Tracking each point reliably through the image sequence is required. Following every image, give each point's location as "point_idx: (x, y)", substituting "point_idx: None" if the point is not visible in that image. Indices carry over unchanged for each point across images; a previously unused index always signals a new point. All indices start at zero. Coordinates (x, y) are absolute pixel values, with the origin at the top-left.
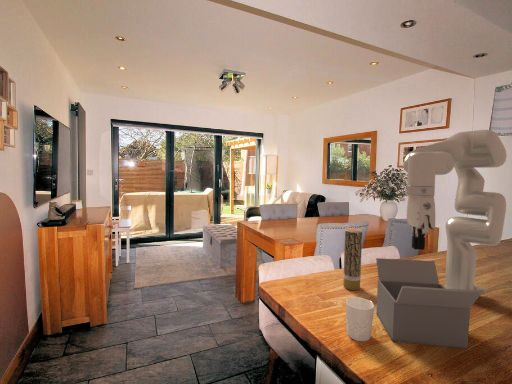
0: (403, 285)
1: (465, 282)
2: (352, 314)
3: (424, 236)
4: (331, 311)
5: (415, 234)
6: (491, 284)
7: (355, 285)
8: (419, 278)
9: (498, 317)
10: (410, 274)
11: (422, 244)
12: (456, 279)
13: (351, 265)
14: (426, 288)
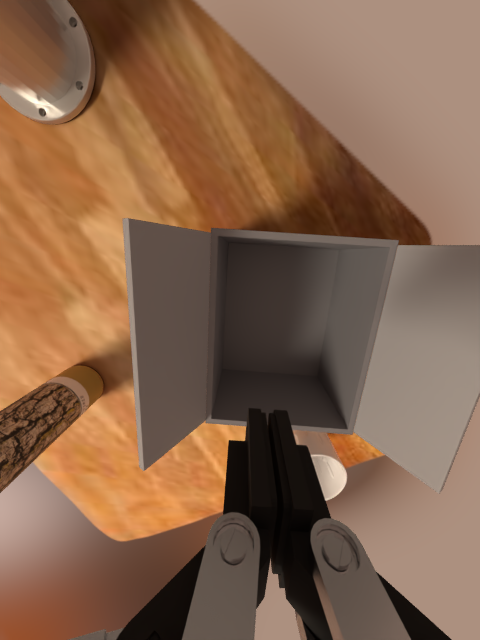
0: (215, 351)
1: (31, 8)
2: (328, 480)
3: (358, 553)
4: (218, 447)
5: (304, 625)
6: None
7: (95, 386)
8: (198, 302)
9: (196, 35)
10: (189, 334)
11: (311, 464)
12: (18, 40)
13: (53, 437)
14: (465, 431)
